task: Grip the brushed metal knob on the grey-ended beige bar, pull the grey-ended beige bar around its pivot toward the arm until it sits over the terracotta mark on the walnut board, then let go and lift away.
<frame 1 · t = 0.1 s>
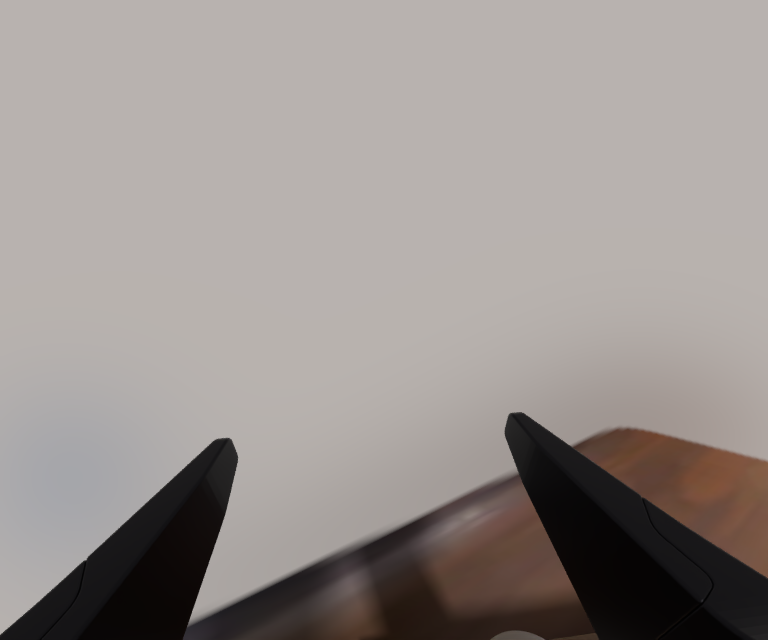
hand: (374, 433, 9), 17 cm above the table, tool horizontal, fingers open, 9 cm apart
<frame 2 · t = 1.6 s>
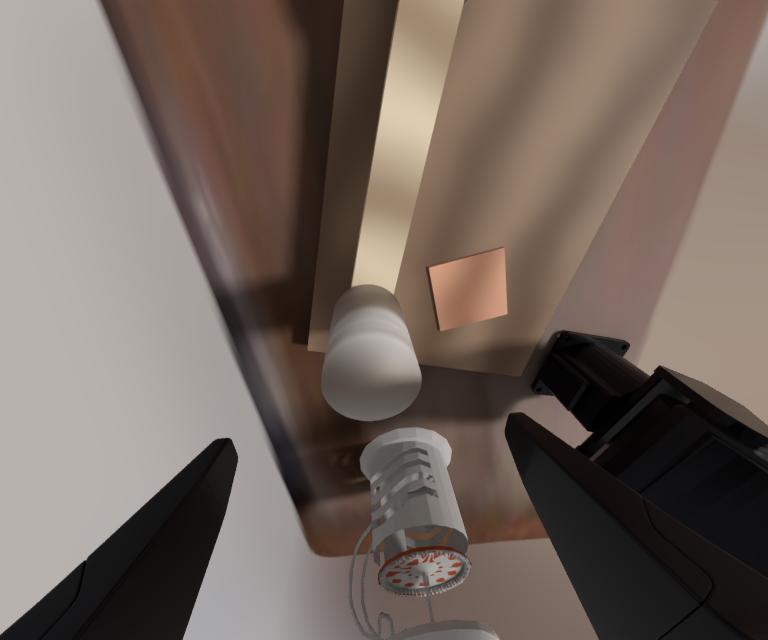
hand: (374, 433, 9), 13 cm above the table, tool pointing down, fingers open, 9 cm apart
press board: (467, 193, 18), on the table
french press: (398, 462, 30), on the table
grey-ended beige bar: (406, 159, 11), point 7 cm above the table, hinge at 0.0°
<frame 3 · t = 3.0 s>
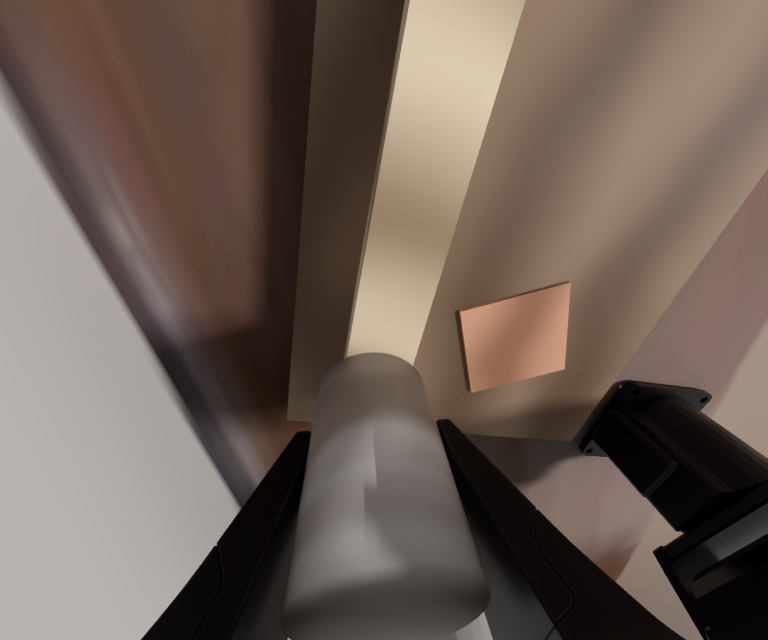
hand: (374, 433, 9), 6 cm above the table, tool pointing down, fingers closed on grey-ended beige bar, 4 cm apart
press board: (516, 203, 12), on the table
french press: (408, 530, 25), on the table
grey-ended beige bar: (457, 148, 5), point 7 cm above the table, hinge at 0.0°, touching gripper
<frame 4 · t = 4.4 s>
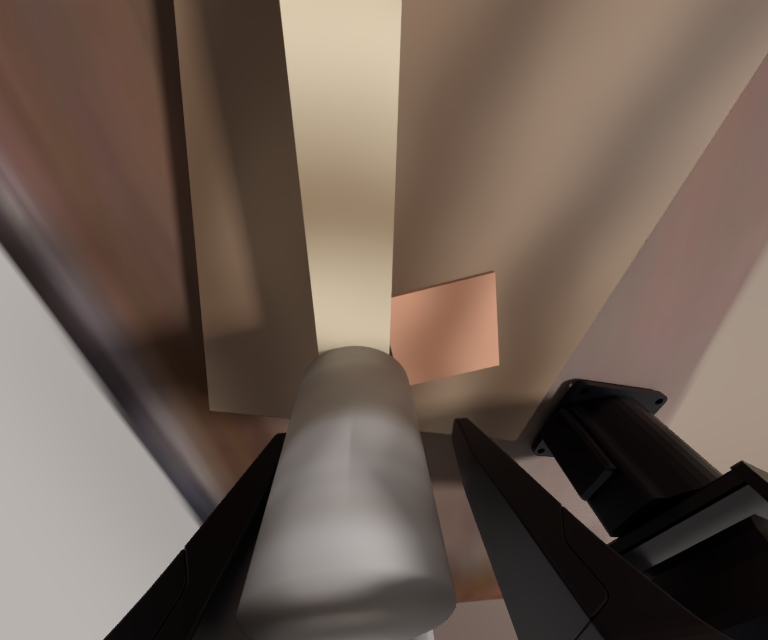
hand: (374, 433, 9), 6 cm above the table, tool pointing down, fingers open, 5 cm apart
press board: (438, 186, 12), on the table
grey-ended beige bar: (339, 114, 5), point 7 cm above the table, hinge at 11.5°, touching gripper
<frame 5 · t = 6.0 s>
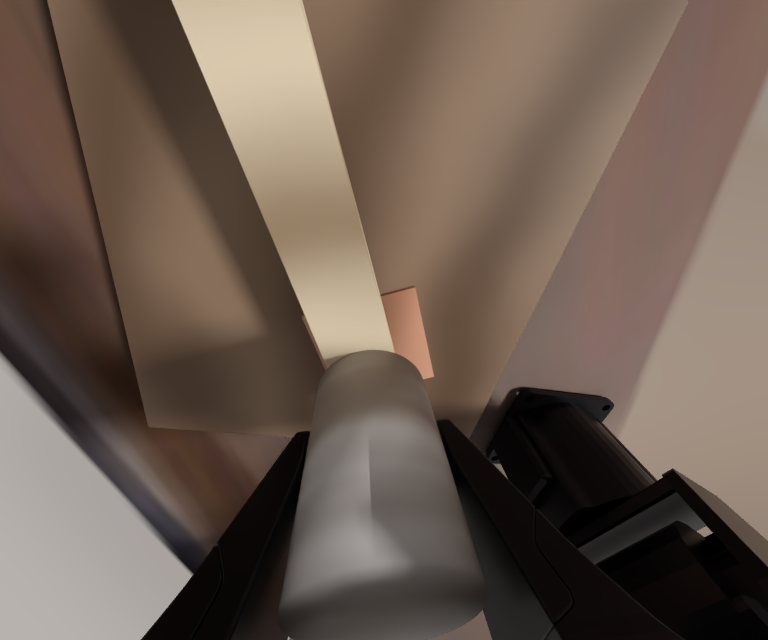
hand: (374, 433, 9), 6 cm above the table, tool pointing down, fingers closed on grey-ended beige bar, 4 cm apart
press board: (356, 203, 12), on the table
grey-ended beige bar: (262, 143, 5), point 7 cm above the table, hinge at 25.2°, touching gripper
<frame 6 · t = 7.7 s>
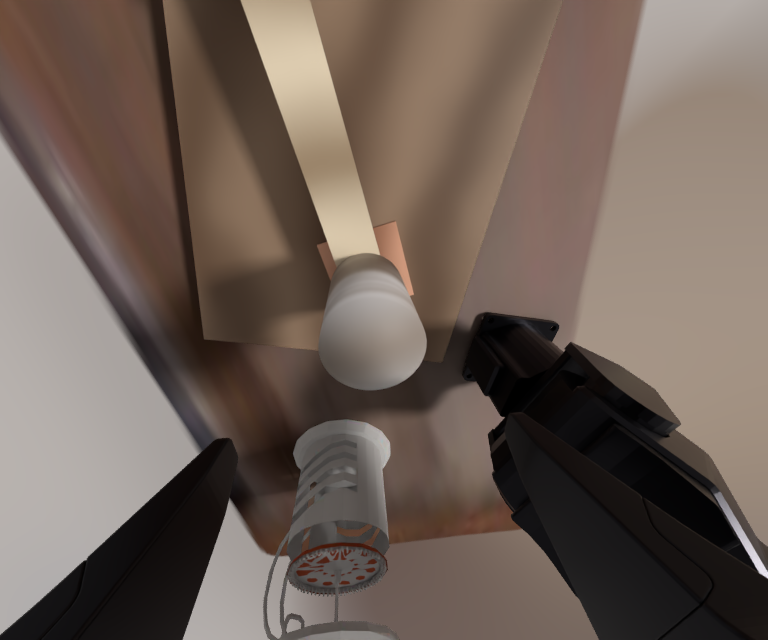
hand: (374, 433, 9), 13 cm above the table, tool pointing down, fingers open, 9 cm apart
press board: (353, 163, 17), on the table
french press: (336, 456, 29), on the table
grey-ended beige bar: (304, 106, 10), point 7 cm above the table, hinge at 25.2°
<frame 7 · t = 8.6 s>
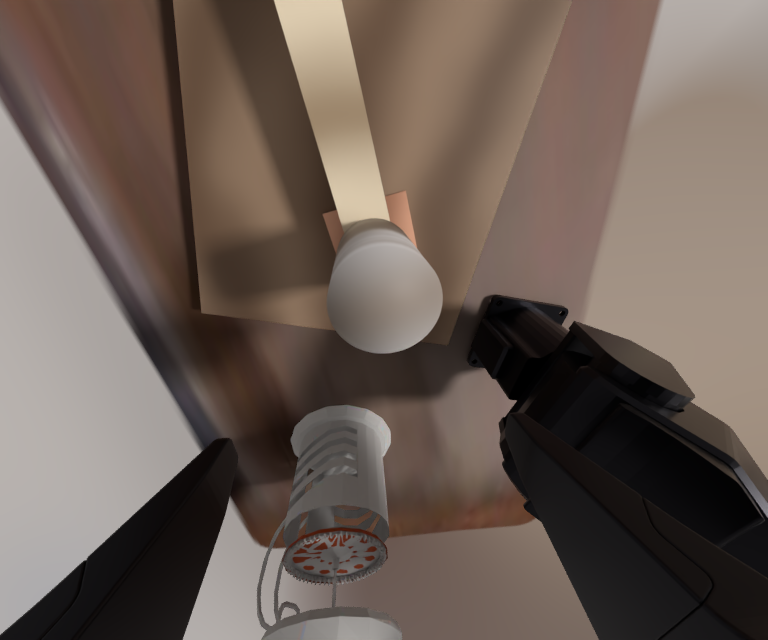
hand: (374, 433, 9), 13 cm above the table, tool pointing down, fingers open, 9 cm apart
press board: (362, 129, 16), on the table
french press: (335, 444, 28), on the table
grey-ended beige bar: (318, 41, 9), point 7 cm above the table, hinge at 25.2°
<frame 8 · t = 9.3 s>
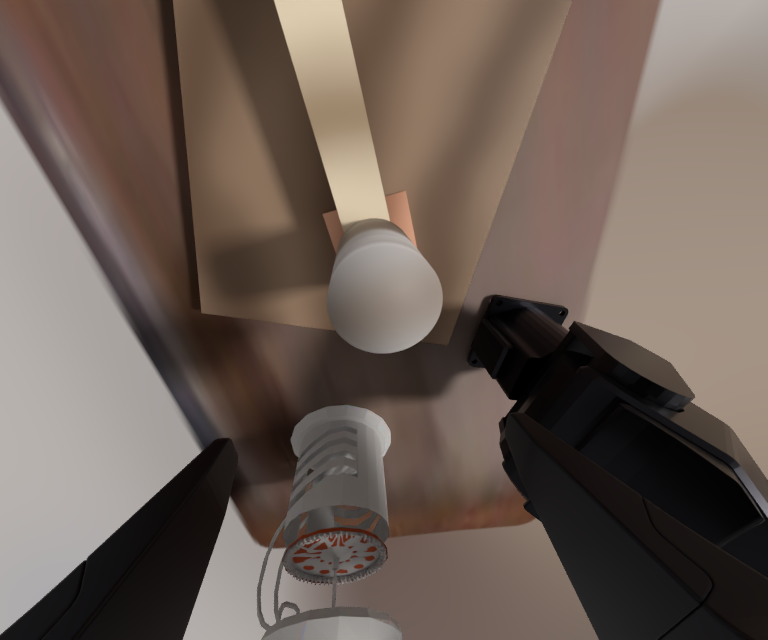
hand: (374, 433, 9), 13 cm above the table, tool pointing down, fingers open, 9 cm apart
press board: (362, 129, 16), on the table
french press: (335, 444, 28), on the table
grey-ended beige bar: (318, 41, 9), point 7 cm above the table, hinge at 25.2°
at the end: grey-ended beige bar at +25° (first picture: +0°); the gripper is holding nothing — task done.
